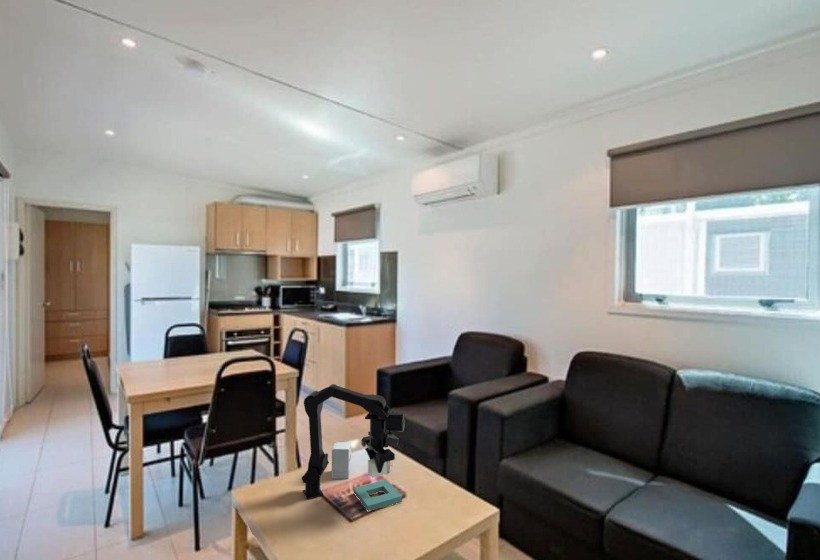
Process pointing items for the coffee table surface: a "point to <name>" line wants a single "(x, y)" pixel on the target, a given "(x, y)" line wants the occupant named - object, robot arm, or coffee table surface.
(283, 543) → the coffee table surface
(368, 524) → the coffee table surface
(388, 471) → the architectural model
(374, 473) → the plug
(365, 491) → the socket board
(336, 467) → the supplement box
